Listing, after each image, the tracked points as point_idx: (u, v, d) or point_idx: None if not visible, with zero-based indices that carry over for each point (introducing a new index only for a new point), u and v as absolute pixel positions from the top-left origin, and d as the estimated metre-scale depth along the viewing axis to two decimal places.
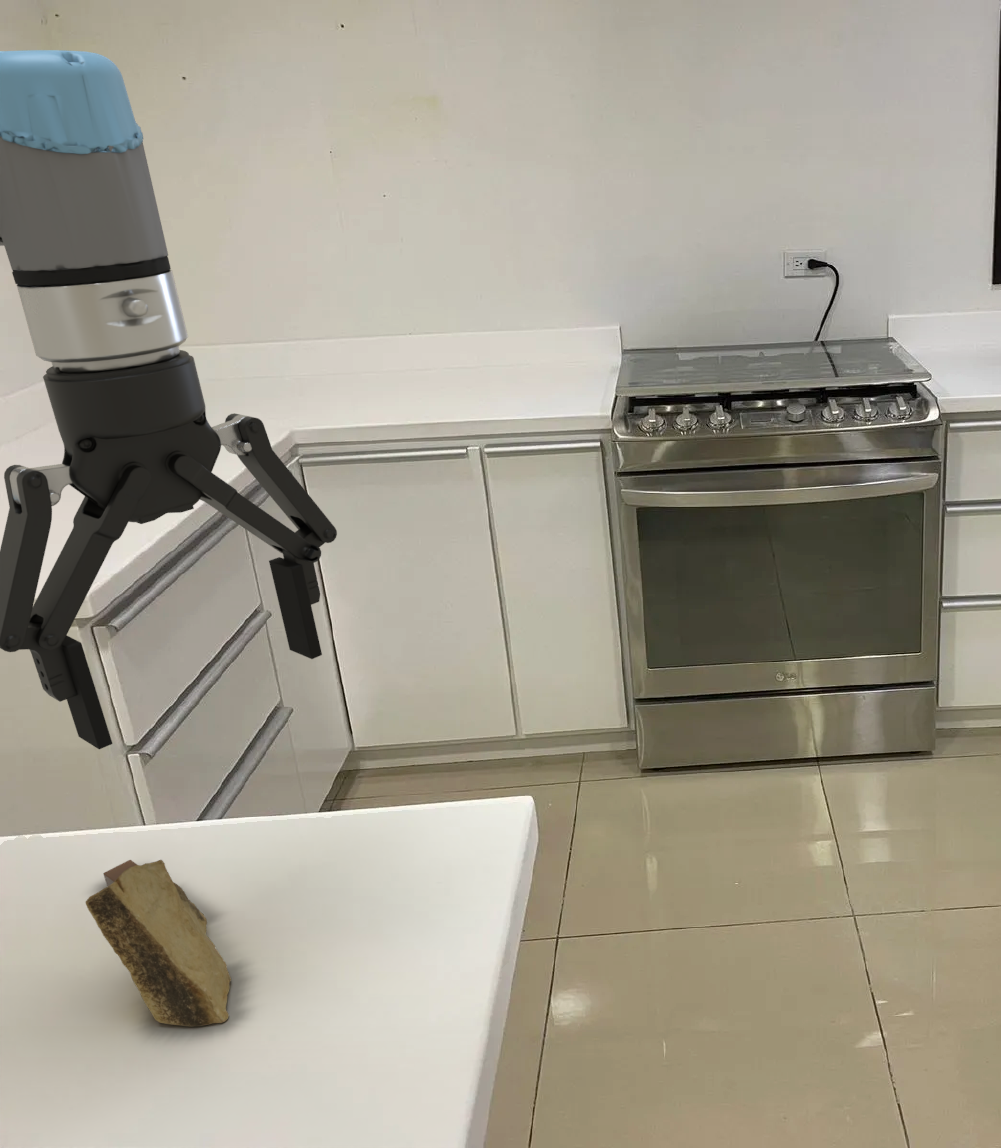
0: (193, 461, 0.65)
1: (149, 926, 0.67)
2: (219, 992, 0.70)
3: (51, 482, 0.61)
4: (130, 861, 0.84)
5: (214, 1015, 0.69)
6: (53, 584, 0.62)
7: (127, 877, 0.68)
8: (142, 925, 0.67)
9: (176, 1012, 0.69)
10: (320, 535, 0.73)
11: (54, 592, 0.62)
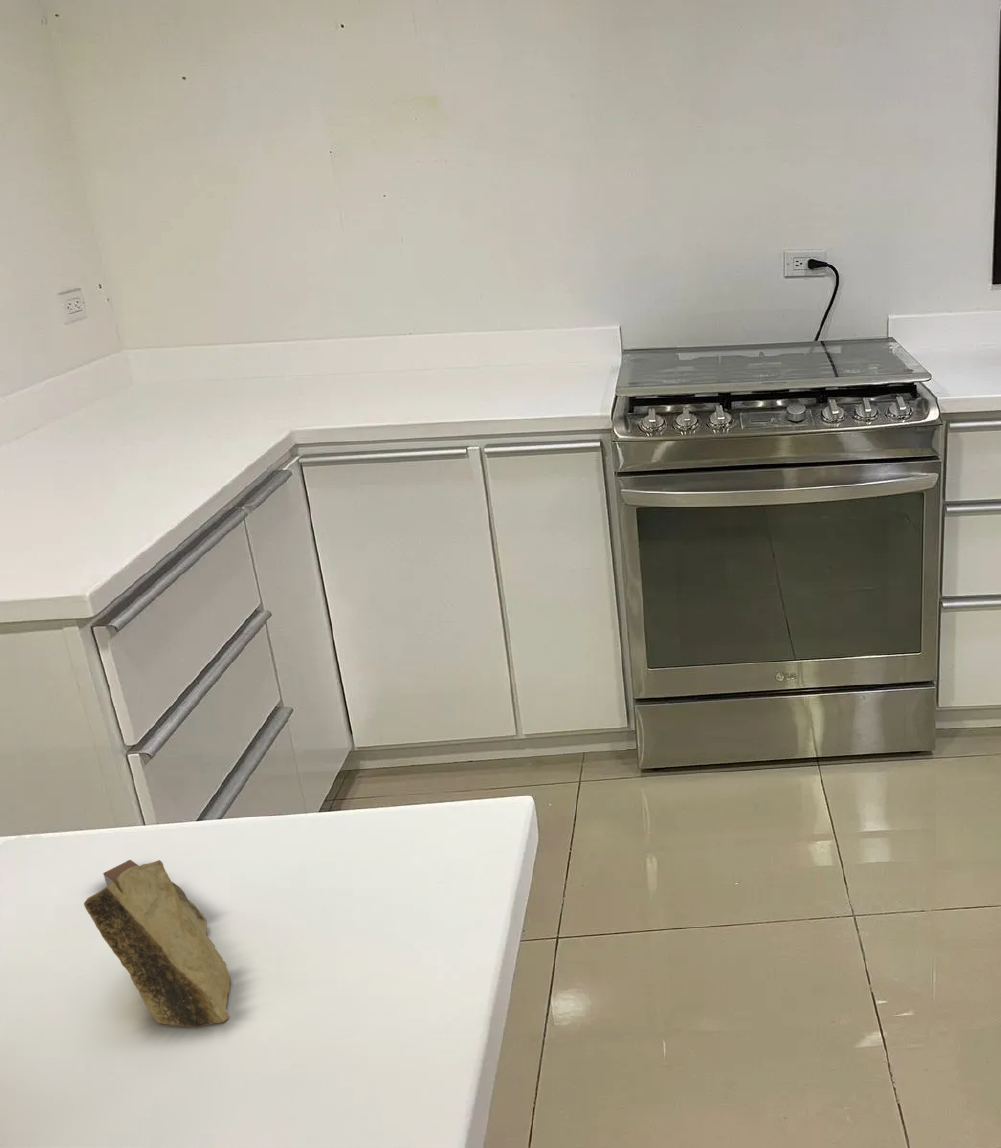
0: None
1: (148, 927, 0.67)
2: (219, 992, 0.70)
3: None
4: (130, 861, 0.84)
5: (214, 1015, 0.69)
6: None
7: (125, 878, 0.68)
8: (140, 925, 0.67)
9: (176, 1013, 0.69)
10: None
11: None
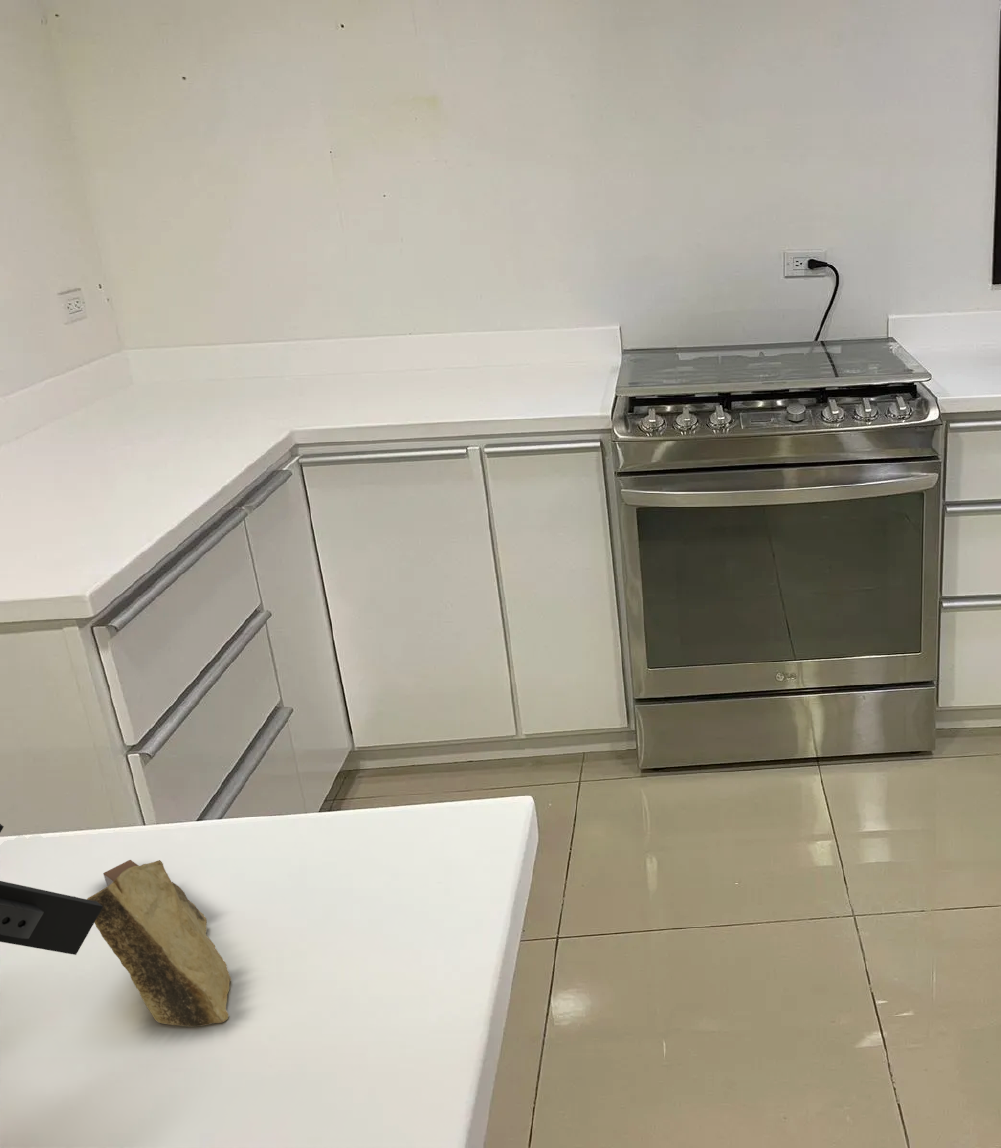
0: None
1: (148, 927, 0.67)
2: (219, 992, 0.70)
3: None
4: (130, 861, 0.84)
5: (214, 1015, 0.69)
6: None
7: (125, 878, 0.68)
8: (140, 925, 0.67)
9: (176, 1013, 0.69)
10: None
11: None
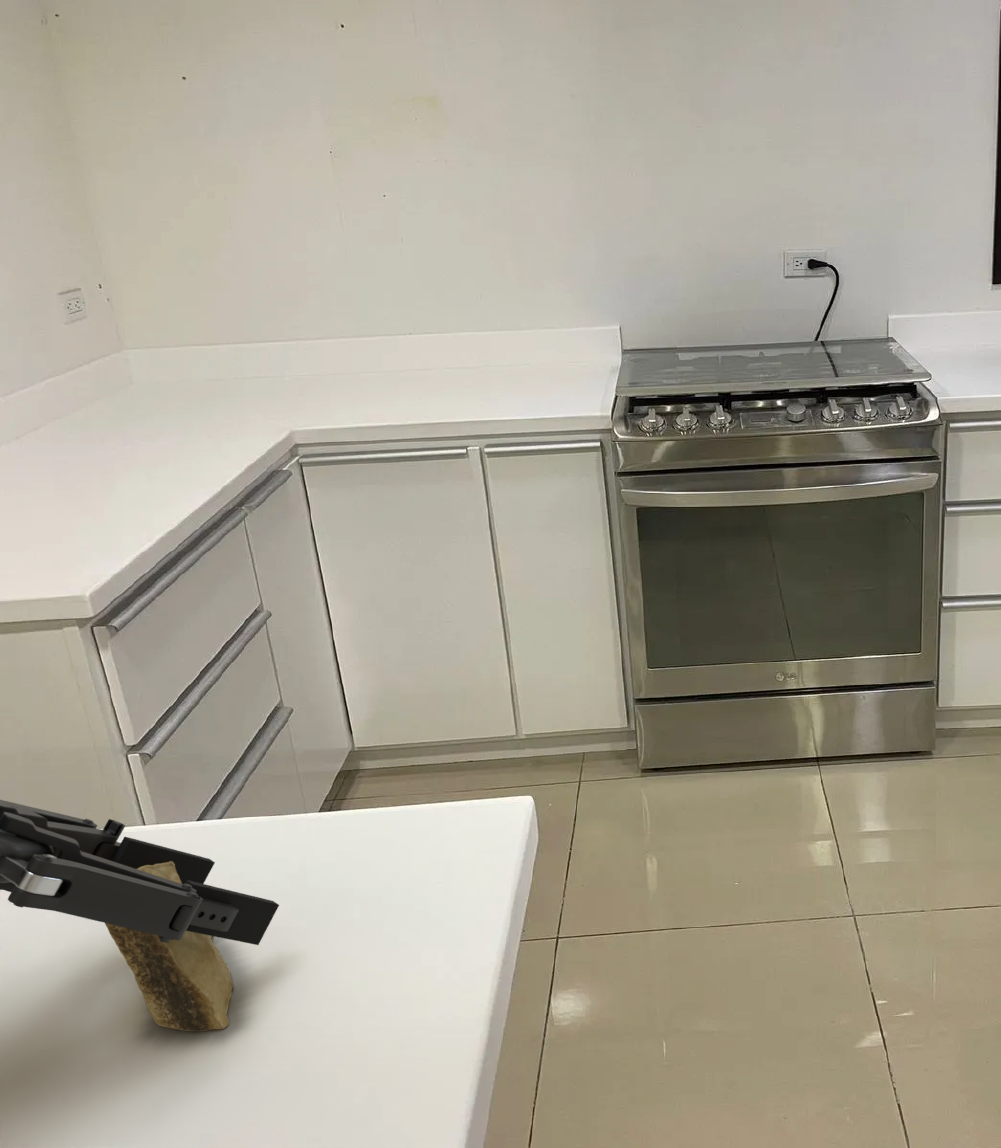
0: None
1: None
2: (221, 998, 0.70)
3: None
4: None
5: (214, 1021, 0.69)
6: None
7: None
8: None
9: (177, 1016, 0.68)
10: None
11: None
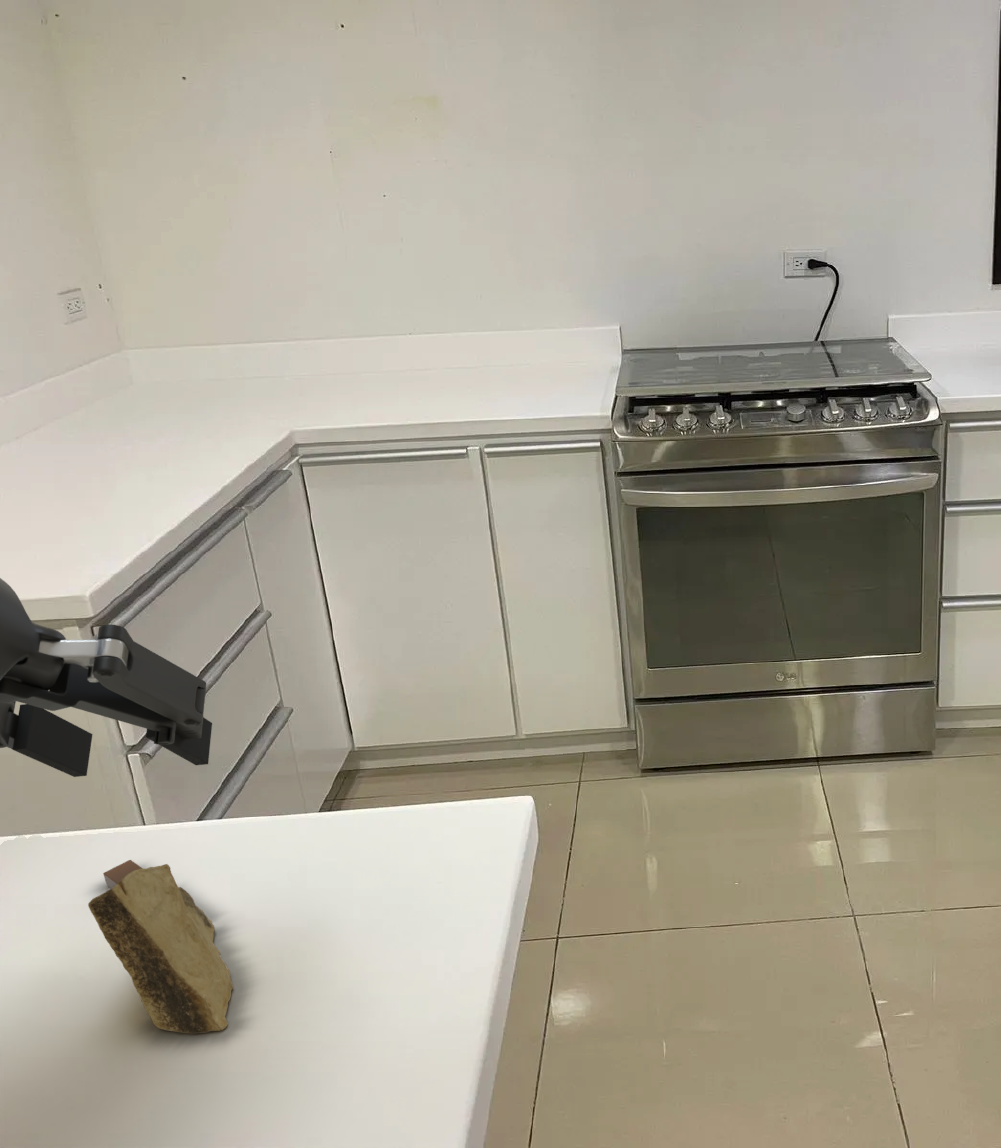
0: (13, 696, 0.55)
1: (150, 930, 0.67)
2: (219, 1000, 0.70)
3: None
4: (130, 861, 0.84)
5: (213, 1023, 0.68)
6: None
7: (130, 880, 0.68)
8: (142, 928, 0.67)
9: (175, 1019, 0.68)
10: (178, 722, 0.63)
11: None
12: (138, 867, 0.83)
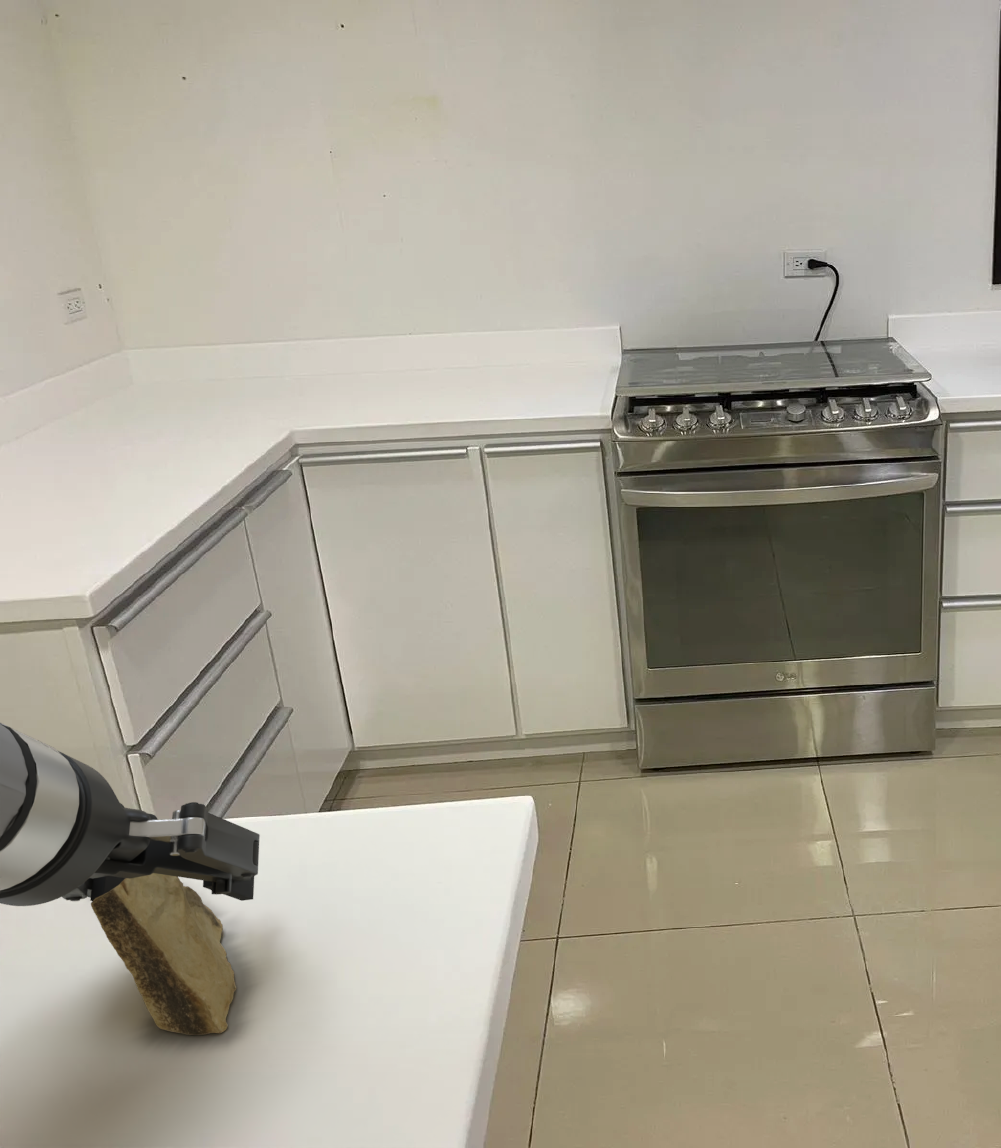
0: (103, 873, 0.60)
1: (151, 931, 0.67)
2: (221, 1001, 0.70)
3: None
4: None
5: (212, 1025, 0.68)
6: None
7: (133, 880, 0.68)
8: (143, 929, 0.67)
9: (176, 1020, 0.68)
10: (236, 874, 0.68)
11: None
12: None
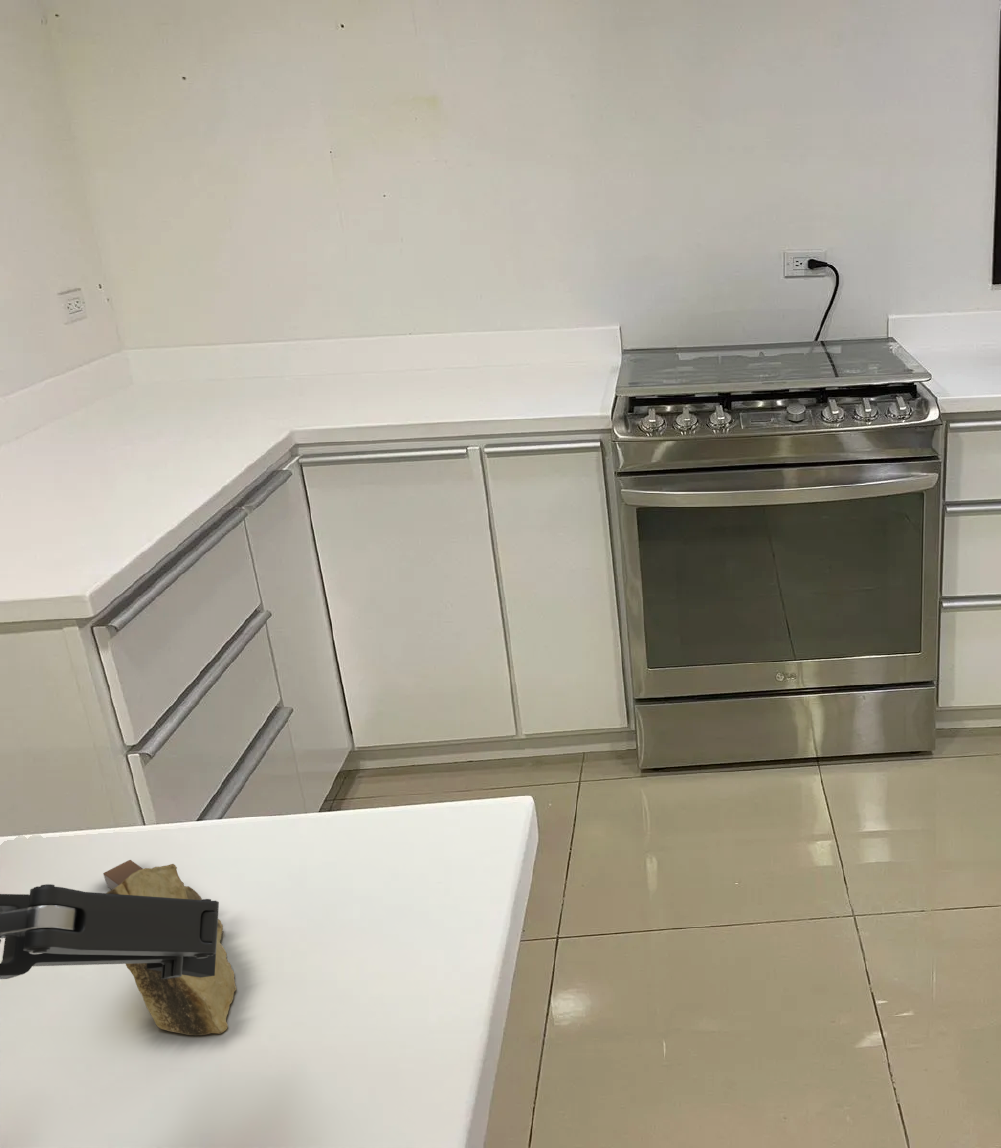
0: None
1: None
2: (221, 1002, 0.70)
3: None
4: (130, 861, 0.84)
5: (212, 1025, 0.68)
6: None
7: (134, 880, 0.68)
8: None
9: (176, 1020, 0.68)
10: (188, 955, 0.54)
11: None
12: (138, 867, 0.83)
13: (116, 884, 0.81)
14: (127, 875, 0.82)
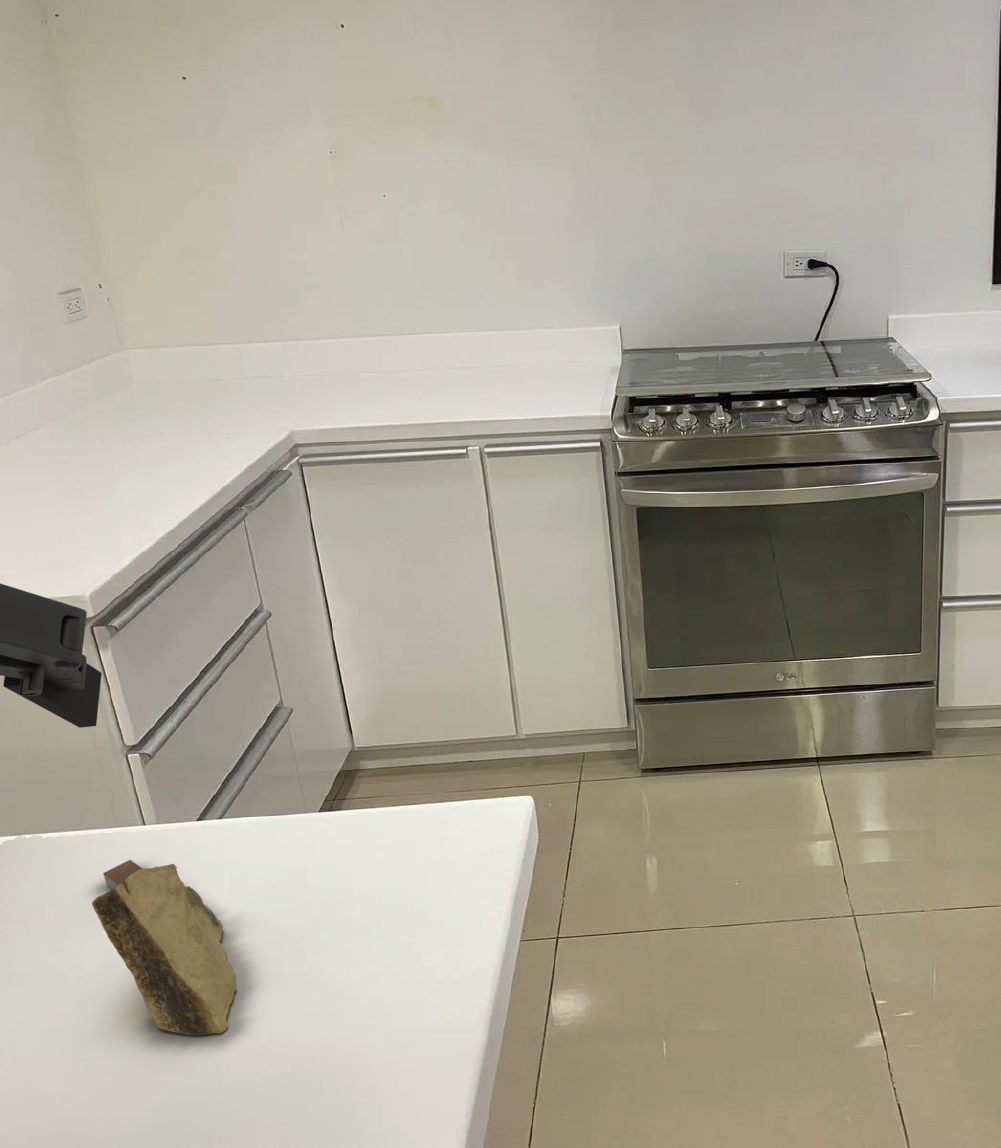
0: None
1: (152, 930, 0.67)
2: (221, 1001, 0.70)
3: None
4: (130, 861, 0.84)
5: (212, 1025, 0.68)
6: None
7: (134, 879, 0.68)
8: (144, 929, 0.67)
9: (176, 1020, 0.68)
10: (48, 665, 0.47)
11: None
12: (138, 867, 0.83)
13: (116, 884, 0.81)
14: (127, 875, 0.82)
